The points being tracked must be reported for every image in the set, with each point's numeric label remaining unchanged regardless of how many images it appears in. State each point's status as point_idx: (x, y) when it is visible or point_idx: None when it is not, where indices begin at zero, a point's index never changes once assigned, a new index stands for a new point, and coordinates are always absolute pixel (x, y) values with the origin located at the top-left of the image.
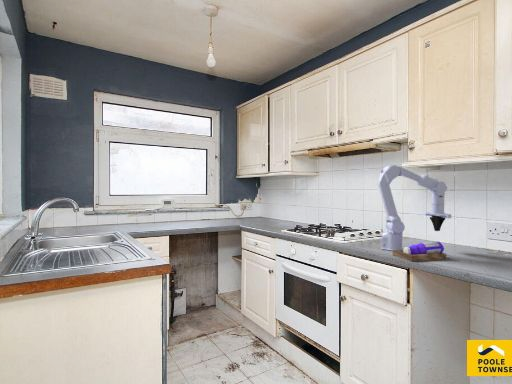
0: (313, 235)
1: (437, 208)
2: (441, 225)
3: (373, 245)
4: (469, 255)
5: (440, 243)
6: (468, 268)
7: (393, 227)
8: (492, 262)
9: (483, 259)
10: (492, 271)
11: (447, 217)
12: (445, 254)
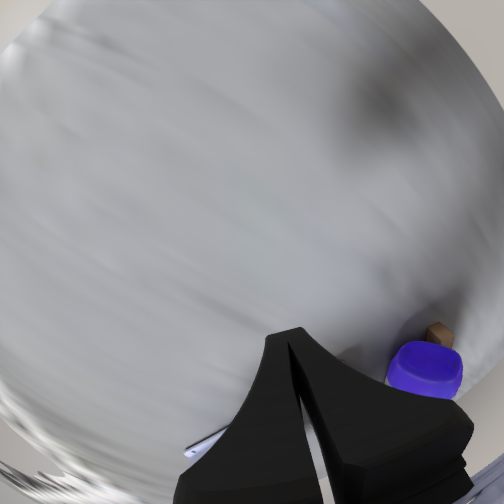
0: (53, 491)
1: None
2: (340, 361)
3: (154, 467)
4: (396, 132)
5: (460, 379)
6: None
7: None
8: (497, 152)
9: (464, 140)
10: None
11: None
12: (451, 336)
